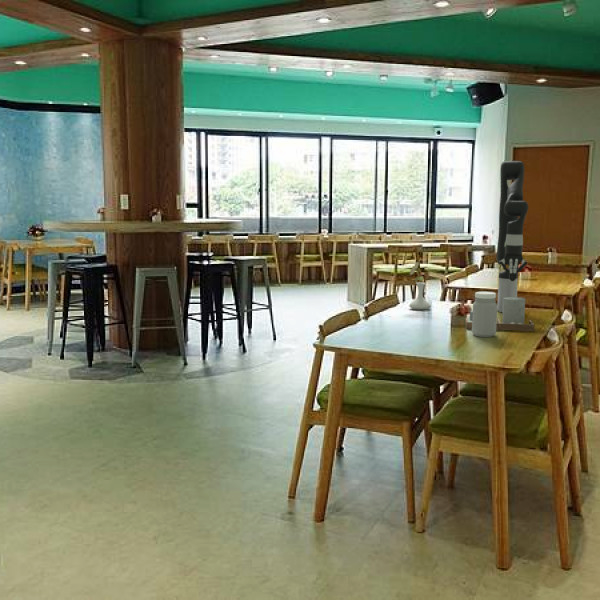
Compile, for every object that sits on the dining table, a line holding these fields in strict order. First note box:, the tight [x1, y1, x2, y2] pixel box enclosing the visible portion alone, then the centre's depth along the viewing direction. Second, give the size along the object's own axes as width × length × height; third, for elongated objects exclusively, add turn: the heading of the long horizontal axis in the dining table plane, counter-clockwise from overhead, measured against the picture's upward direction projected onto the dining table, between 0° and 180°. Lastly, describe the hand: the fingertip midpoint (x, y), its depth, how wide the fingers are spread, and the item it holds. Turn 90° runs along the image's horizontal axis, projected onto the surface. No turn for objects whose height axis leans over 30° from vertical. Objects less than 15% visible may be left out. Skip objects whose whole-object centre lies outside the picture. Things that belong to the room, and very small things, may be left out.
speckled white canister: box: [501, 296, 526, 324], centre depth 294 cm, size 10×10×12 cm
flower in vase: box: [408, 261, 432, 311], centre depth 336 cm, size 13×11×25 cm
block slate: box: [469, 309, 473, 321], centre depth 309 cm, size 4×4×4 cm
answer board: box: [465, 317, 535, 332], centre depth 287 cm, size 12×28×3 cm, turn 78°
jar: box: [471, 291, 498, 338], centre depth 271 cm, size 10×10×18 cm
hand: (512, 280), depth 304 cm, fingers closed
